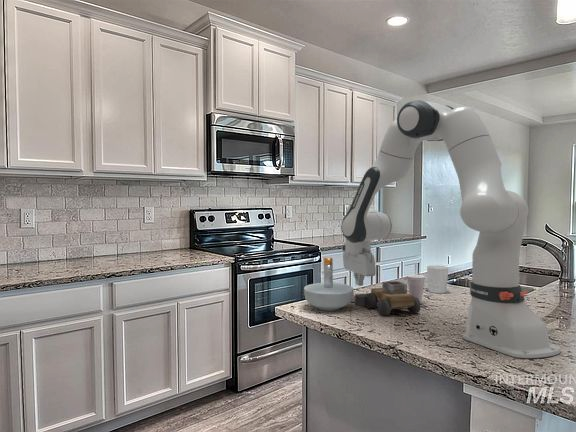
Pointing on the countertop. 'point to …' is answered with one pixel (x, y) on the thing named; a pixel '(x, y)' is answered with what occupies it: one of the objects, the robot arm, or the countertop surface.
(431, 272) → the white cup
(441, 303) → the countertop surface
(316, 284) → the cereal bowl
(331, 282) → the grey and orange cylinder
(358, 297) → the dark grey cube
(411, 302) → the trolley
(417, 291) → the smoothie
